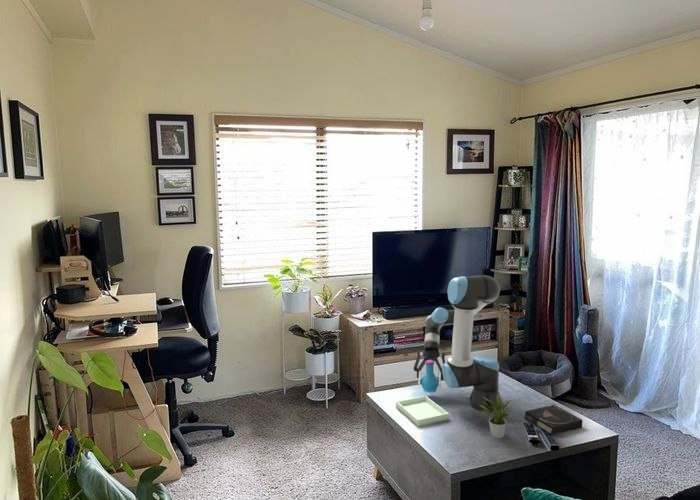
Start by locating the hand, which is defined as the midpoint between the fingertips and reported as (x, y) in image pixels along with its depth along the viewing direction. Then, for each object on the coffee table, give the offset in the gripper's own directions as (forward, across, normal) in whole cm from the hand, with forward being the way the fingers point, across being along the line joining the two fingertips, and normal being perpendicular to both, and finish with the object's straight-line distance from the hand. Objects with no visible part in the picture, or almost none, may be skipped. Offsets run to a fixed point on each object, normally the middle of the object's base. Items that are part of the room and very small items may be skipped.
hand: (429, 385), depth 253 cm
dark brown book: (+16, -55, +5) cm, 57 cm away
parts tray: (+17, +2, +6) cm, 18 cm away
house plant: (+26, -32, +15) cm, 44 cm away
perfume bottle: (+1, 0, -5) cm, 5 cm away
